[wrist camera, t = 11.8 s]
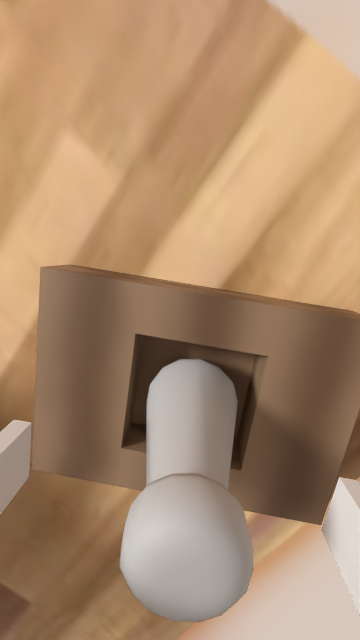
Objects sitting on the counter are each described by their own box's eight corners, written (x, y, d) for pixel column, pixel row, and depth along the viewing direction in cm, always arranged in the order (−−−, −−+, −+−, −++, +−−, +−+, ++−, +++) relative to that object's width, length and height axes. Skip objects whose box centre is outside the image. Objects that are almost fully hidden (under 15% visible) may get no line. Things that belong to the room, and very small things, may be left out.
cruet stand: (59, 434, 24) (31, 469, 20) (70, 264, 21) (40, 267, 17) (301, 479, 23) (320, 525, 19) (351, 311, 20) (387, 324, 16)
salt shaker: (249, 390, 21) (329, 606, 8) (188, 434, 22) (178, 684, 9) (196, 330, 20) (195, 470, 7) (136, 379, 21) (47, 572, 9)
